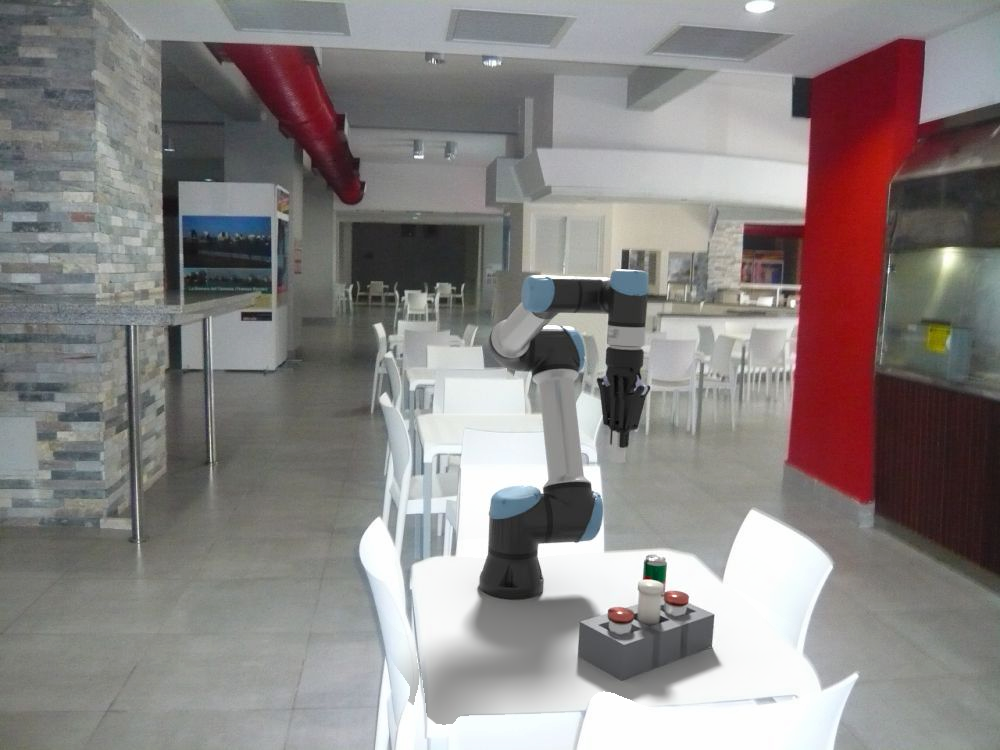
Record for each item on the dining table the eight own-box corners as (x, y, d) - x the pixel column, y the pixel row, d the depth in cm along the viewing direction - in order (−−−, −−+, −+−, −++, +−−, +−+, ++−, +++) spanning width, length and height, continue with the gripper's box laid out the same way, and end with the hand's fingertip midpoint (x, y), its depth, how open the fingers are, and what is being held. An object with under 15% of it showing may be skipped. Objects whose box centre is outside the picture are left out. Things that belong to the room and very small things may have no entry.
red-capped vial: (599, 654, 170) (602, 610, 169) (617, 648, 173) (620, 605, 172) (618, 664, 166) (621, 619, 165) (636, 658, 170) (639, 613, 168)
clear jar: (655, 635, 180) (658, 593, 179) (672, 630, 183) (675, 588, 182) (674, 644, 176) (677, 602, 175) (690, 638, 179) (694, 596, 178)
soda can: (663, 615, 193) (667, 562, 192) (640, 612, 194) (643, 560, 193) (663, 606, 198) (667, 555, 197) (641, 603, 199) (644, 552, 198)
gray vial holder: (621, 680, 162) (624, 644, 161) (577, 655, 172) (579, 621, 171) (711, 646, 178) (714, 614, 177) (667, 625, 188) (669, 594, 187)
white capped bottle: (629, 625, 175) (632, 582, 173) (647, 620, 178) (650, 577, 177) (648, 635, 171) (651, 590, 170) (665, 629, 174) (668, 585, 173)
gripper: (589, 344, 178) (582, 457, 181) (635, 351, 168) (628, 471, 171) (615, 343, 183) (608, 453, 186) (662, 350, 173) (654, 466, 176)
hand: (618, 461), depth 179 cm, fingers closed
